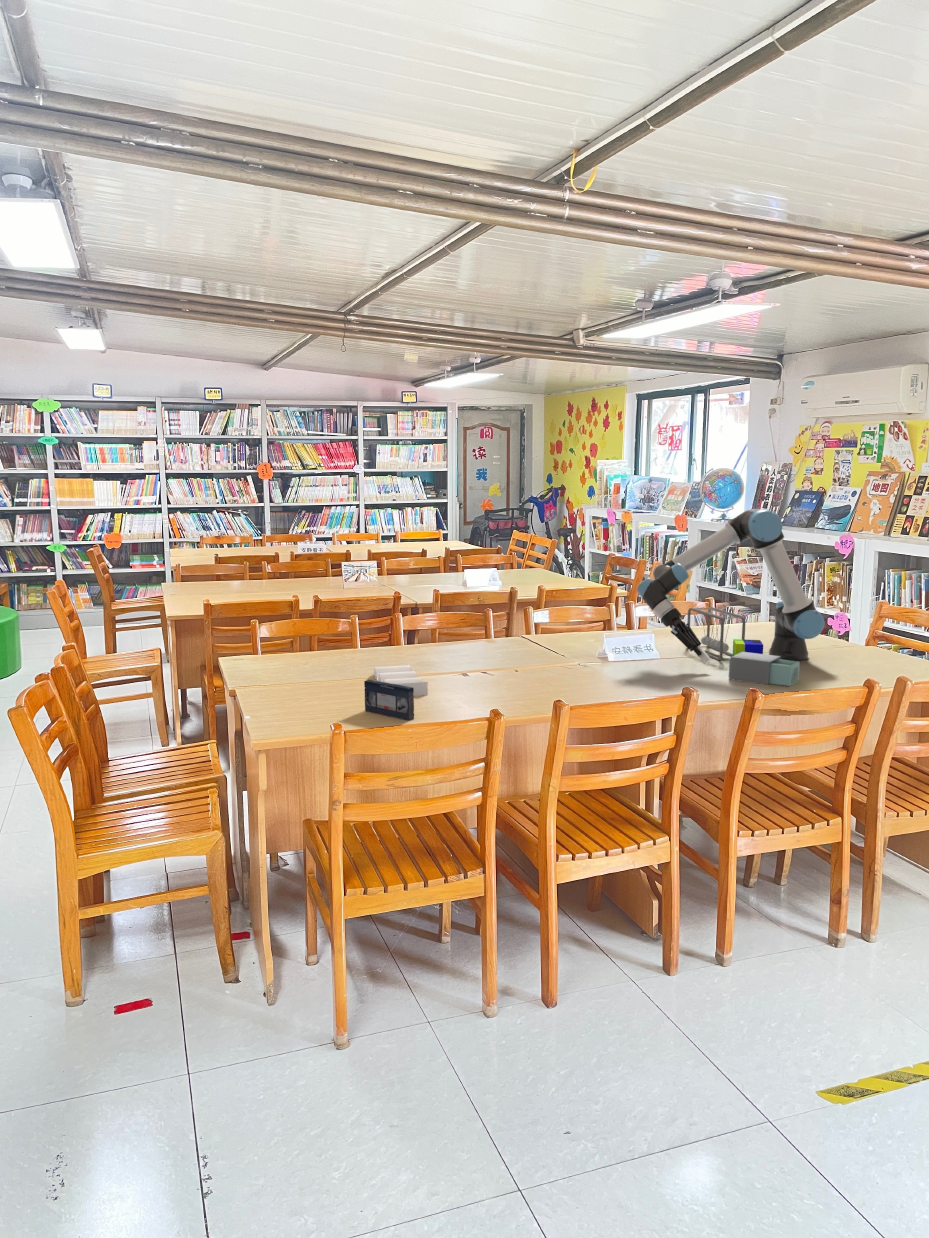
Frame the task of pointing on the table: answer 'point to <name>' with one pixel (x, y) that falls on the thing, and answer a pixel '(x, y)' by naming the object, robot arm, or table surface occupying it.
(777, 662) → the sliding matchbox
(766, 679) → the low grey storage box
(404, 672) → the file organizer
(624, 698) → the table surface
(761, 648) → the puzzle toy
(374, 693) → the vhs cassette tape
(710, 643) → the newton's cradle
